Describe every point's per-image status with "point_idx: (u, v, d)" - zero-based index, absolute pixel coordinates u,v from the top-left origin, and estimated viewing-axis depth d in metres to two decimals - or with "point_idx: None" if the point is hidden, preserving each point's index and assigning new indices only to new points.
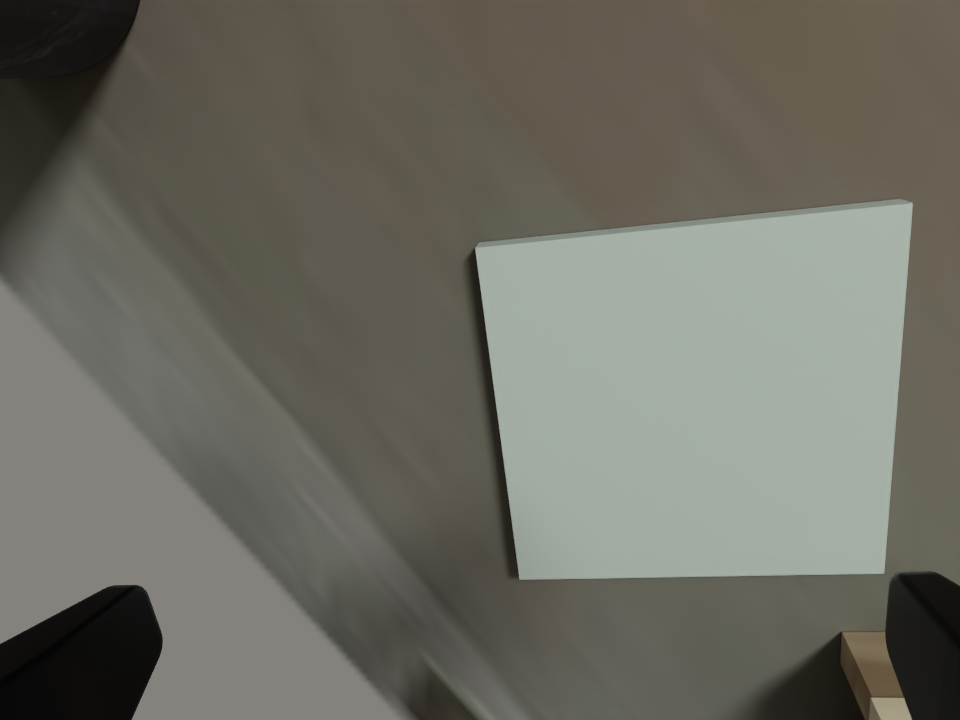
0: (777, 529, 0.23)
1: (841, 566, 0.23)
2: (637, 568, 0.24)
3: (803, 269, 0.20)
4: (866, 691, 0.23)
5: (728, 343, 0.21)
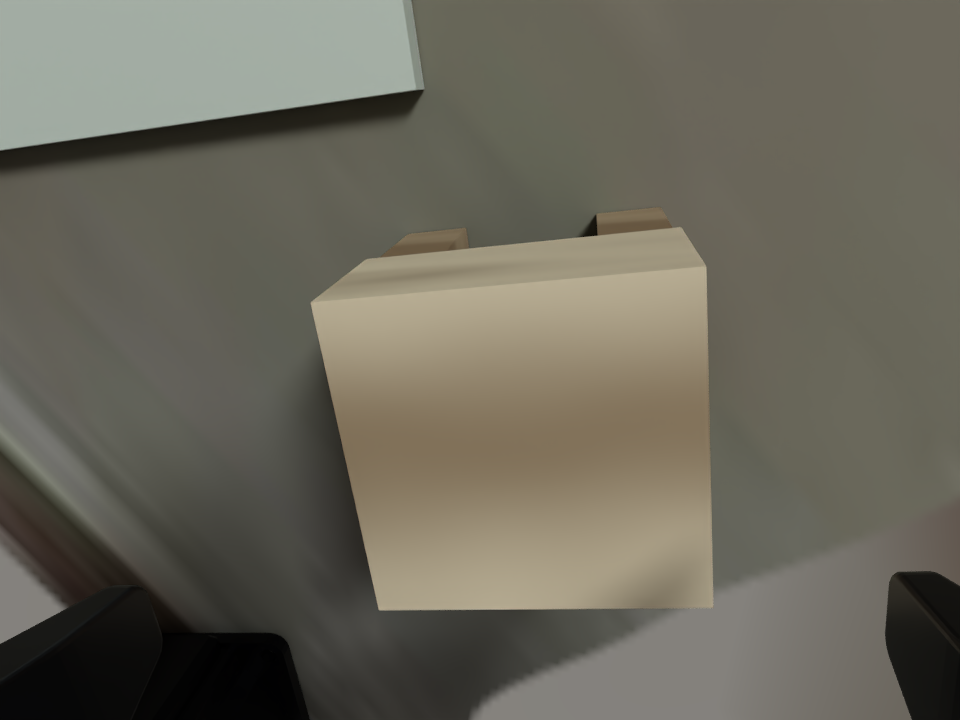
0: (248, 18, 0.15)
1: (353, 82, 0.15)
2: (79, 120, 0.16)
3: None
4: None
5: None
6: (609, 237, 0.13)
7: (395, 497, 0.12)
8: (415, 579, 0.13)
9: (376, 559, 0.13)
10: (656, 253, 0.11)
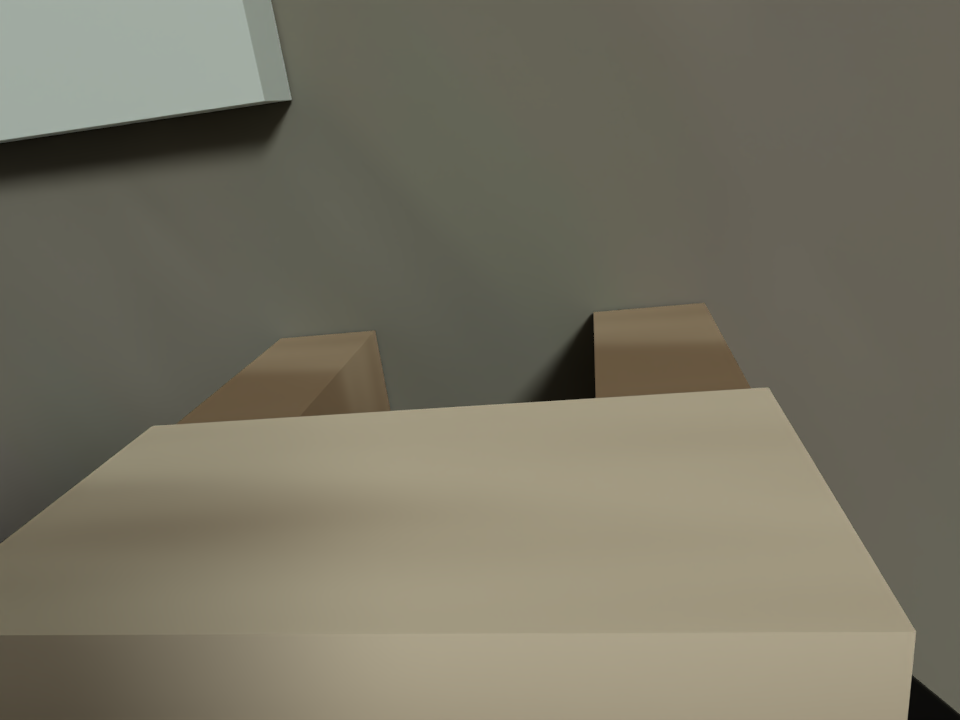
0: None
1: (154, 88, 0.08)
2: None
3: None
4: None
5: None
6: (620, 409, 0.06)
7: None
8: None
9: None
10: (740, 509, 0.05)
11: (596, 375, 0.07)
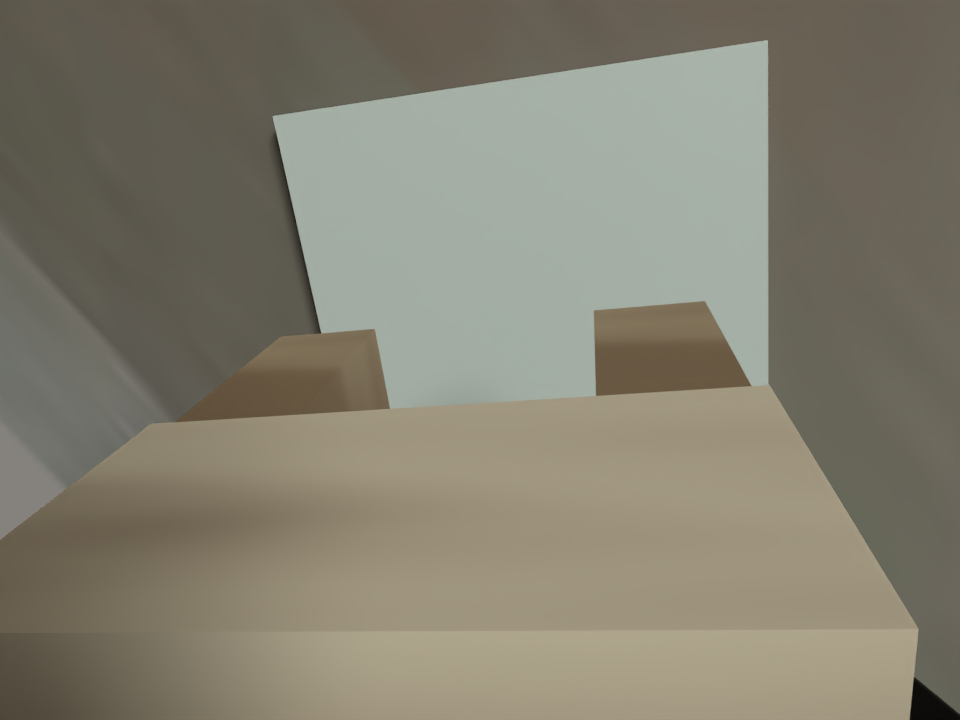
0: None
1: None
2: None
3: (647, 129, 0.17)
4: None
5: (569, 225, 0.18)
6: (620, 407, 0.06)
7: None
8: None
9: None
10: (741, 507, 0.04)
11: (596, 373, 0.07)
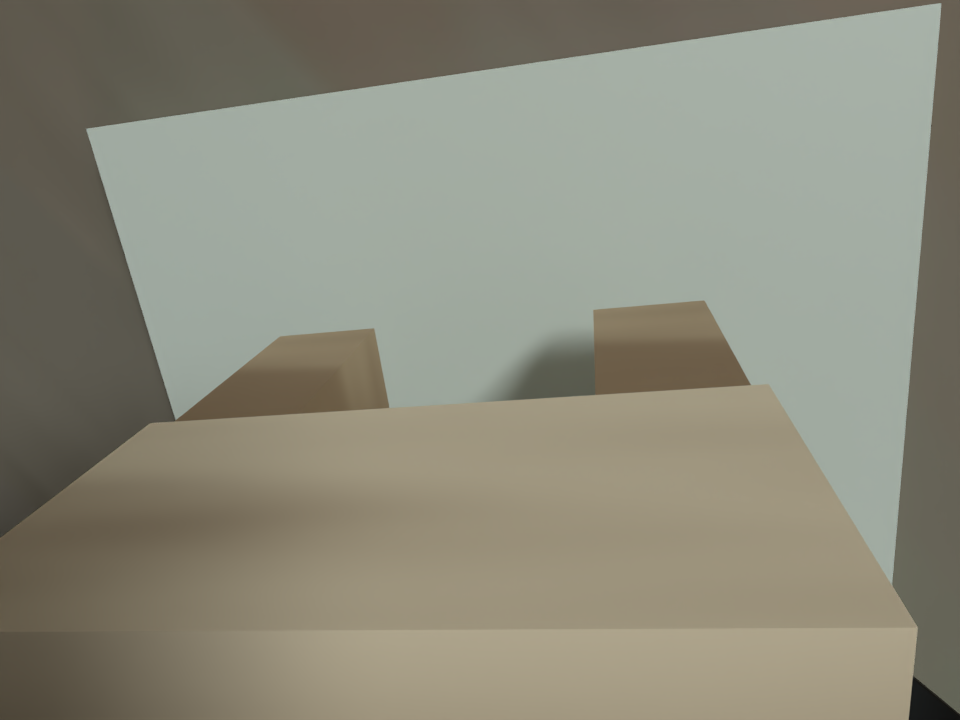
0: None
1: None
2: None
3: (714, 159, 0.10)
4: None
5: (577, 314, 0.11)
6: (619, 406, 0.06)
7: None
8: None
9: None
10: (740, 506, 0.04)
11: (596, 372, 0.07)
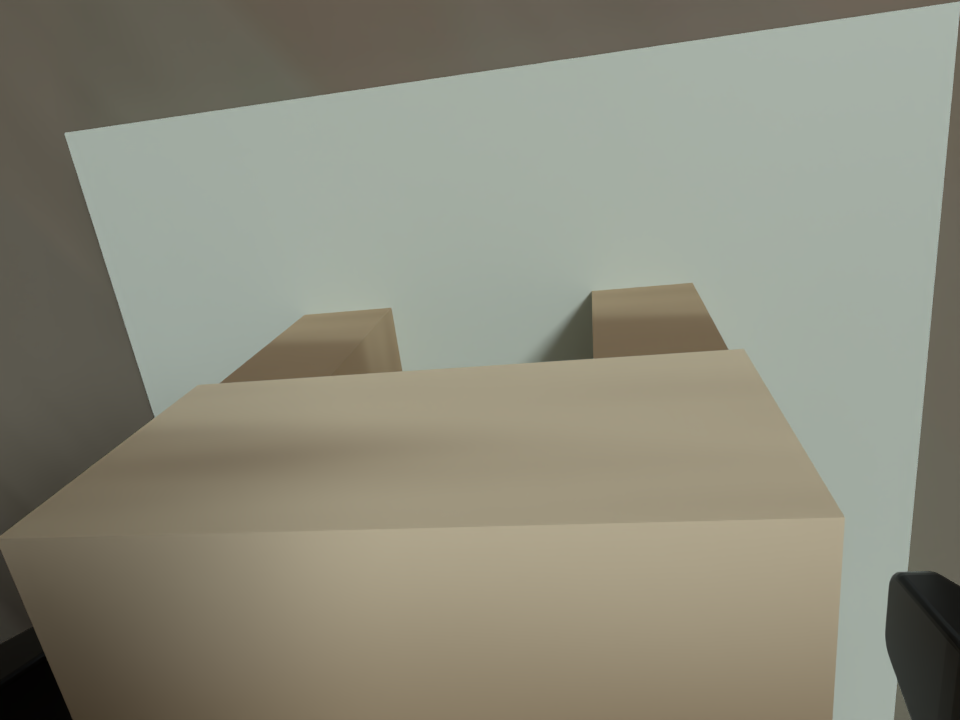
0: None
1: None
2: None
3: (720, 165, 0.09)
4: None
5: (576, 326, 0.10)
6: (614, 367, 0.07)
7: None
8: None
9: None
10: (713, 438, 0.05)
11: (593, 342, 0.08)
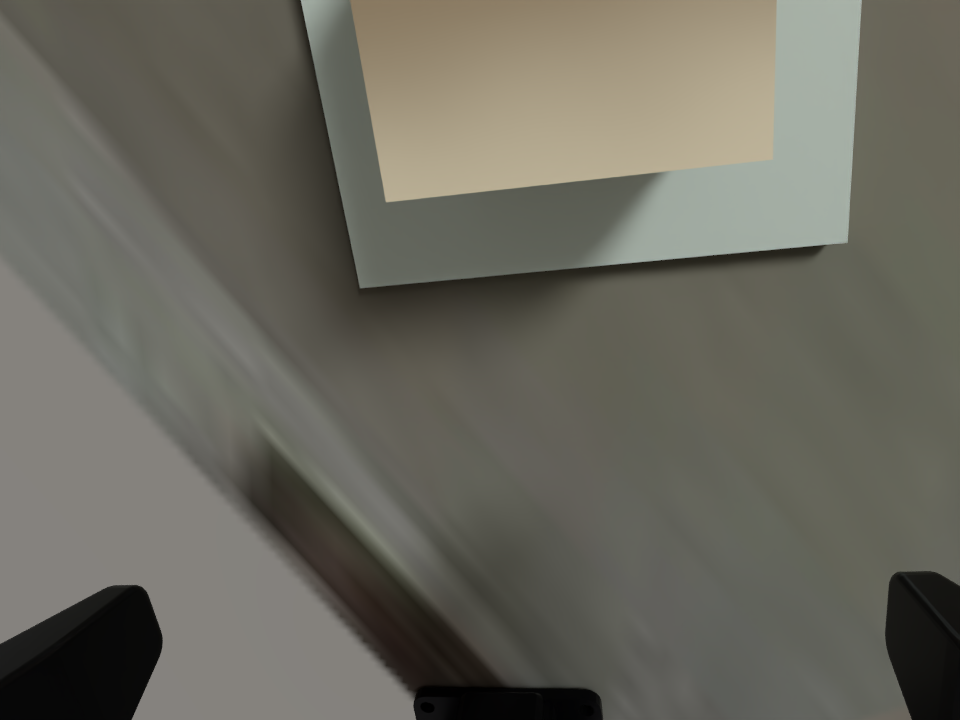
0: (698, 180, 0.16)
1: (788, 235, 0.17)
2: (513, 259, 0.18)
3: None
4: None
5: None
6: None
7: (405, 34, 0.10)
8: (428, 153, 0.11)
9: (383, 127, 0.11)
10: None
11: None
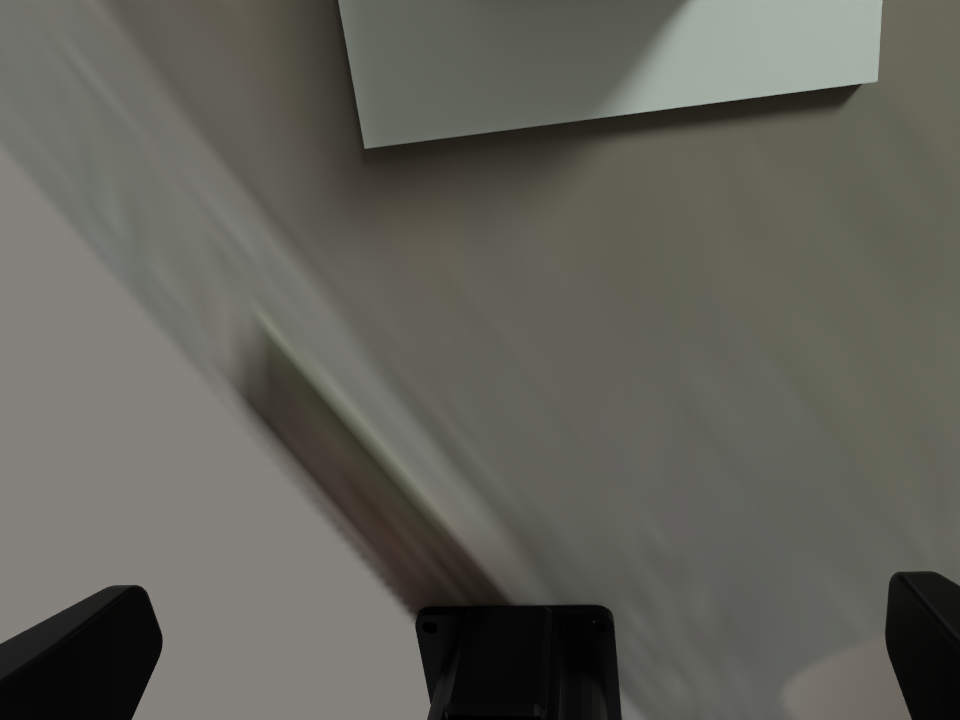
0: (721, 15, 0.16)
1: (815, 75, 0.16)
2: (525, 111, 0.17)
3: None
4: None
5: None
6: None
7: None
8: None
9: None
10: None
11: None
